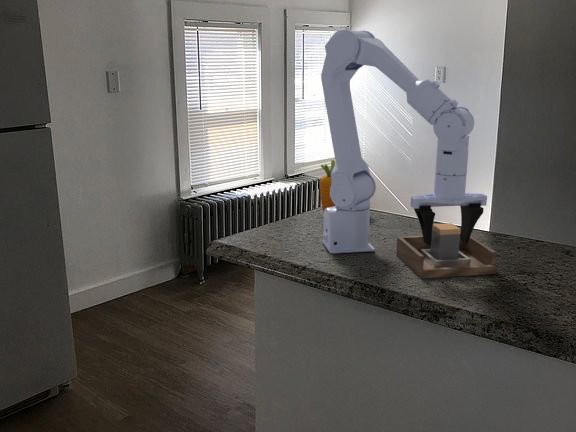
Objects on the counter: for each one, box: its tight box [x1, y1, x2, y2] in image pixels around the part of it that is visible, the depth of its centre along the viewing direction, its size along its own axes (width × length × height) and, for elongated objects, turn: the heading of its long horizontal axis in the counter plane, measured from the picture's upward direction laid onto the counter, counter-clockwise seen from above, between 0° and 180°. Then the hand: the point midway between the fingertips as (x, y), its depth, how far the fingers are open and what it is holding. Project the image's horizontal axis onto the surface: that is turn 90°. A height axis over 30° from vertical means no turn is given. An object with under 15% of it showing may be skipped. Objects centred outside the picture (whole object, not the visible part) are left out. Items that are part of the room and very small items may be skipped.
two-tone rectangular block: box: [430, 222, 461, 260], centre depth 120 cm, size 4×4×7 cm
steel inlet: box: [420, 249, 471, 268], centre depth 120 cm, size 7×7×2 cm
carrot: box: [319, 160, 336, 213], centre depth 148 cm, size 5×5×15 cm
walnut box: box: [396, 235, 498, 279], centre depth 120 cm, size 15×13×4 cm
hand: (445, 242), depth 119 cm, fingers open, 7 cm apart
